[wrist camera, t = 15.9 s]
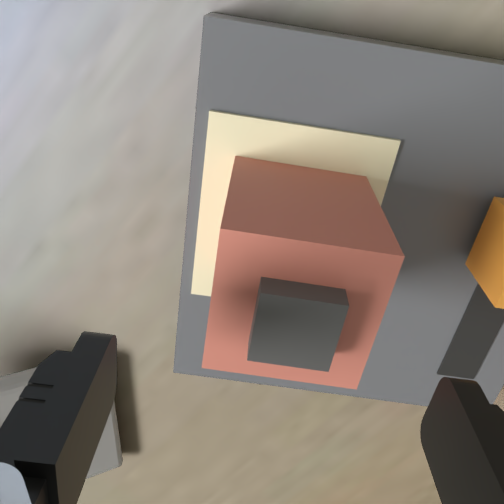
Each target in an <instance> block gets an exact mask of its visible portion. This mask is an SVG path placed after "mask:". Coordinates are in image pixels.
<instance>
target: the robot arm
mask: <svg viewBox="0 0 504 504" xmlns="http://www.w3.org/2000/svg"><path fill="white" fill-rule="evenodd" d="M116 386H117V339H116V336H115V335H110V334H102V333H94V332H86V331H85V332H83V333H82V334H81V336H80V337H79V339H78V341H77V343H76V345H75V347H74V349H73V350H72V352H67V351H59V350H57V351H55V352H54V353H53V354H51V355H50V356H49V357H48V358H46V359H45V360H44V361H43V362H41V363H40V364H39V365H38V366H37V368H36V370H35V371H34V373H33V375H32V376H31V378H30V380H29V381H28V385H27V386H25V388H24V390H23V391H22V393H21V394H20V396H19V400H18V401H16V403H15V404H14V406H13V408H12V409H11V411H10V413H9V414H8V416H7V418H6V419H5V421H4V422H3V424H2V426H1V427H0V504H77V501H78V498H79V496H80V493H81V490H82V487H83V485H84V482H85V479H86V477H87V474H88V471H89V469H90V466H91V463H92V460H93V458H94V455H95V452H96V450H97V447H98V444H99V441H100V439H101V436H102V433H103V431H104V428H105V425H106V422H107V420H108V417H109V414H110V412H111V409H112V406H113V402H114V398H115V393H116ZM421 443H422V446H423V450H424V452H425V455H426V458H427V461H428V464H429V467H430V470H431V473H432V476H433V479H434V482H435V485H436V488H437V491H438V494H439V497H440V499H441V502H442V504H504V411H503V410H502V409H501V408H500V407H499V406H498V405H494V404H490V403H489V401H488V399H487V398H486V396H485V394H484V392H483V390H482V388H481V386H480V385H479V384H478V382H476V381H474V380H466V379H458V378H450V377H443V378H442V379H441V380H440V381H439V383H438V385H437V387H436V389H435V392H434V394H433V396H432V399H431V401H430V403H429V405H428V408H427V410H426V412H425V414H424V417H423V419H422V423H421Z"/></svg>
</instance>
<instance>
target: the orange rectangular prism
mask: <svg viewBox="0 0 504 504" xmlns="http://www.w3.org/2000/svg"><path fill="white" fill-rule="evenodd" d="M465 264H466V266H467V267H468V269H469V270H470V272H471V273H472V275H473V276H474V278H475V279H476V281H477V282H478V284H479V285H480V286H481V288H482V289H483V291H484V292H485V294H486V295H487V297H488V298H489V300H490V301H491V303H492V304H493V306H494V307H495V308H502V309H504V198H500V197H494V198H493V200H492V202H491V205H490V207H489V209H488V212H487V214H486V216H485V219H484V221H483V223H482V226H481V228H480V230H479V233H478V235H477V237H476V239H475V242H474V244H473V246H472V249H471V251H470V253H469V256H468V258H467V260H466V263H465Z"/></svg>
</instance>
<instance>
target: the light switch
mask: <svg viewBox="0 0 504 504" xmlns="http://www.w3.org/2000/svg"><path fill="white" fill-rule="evenodd" d="M36 368H37V367H36ZM36 368H32V369H28V370H24V371H20V372H17V373H13V374H9V375H5V376H2V377H0V427H1V426H2V424H3V422H4V421H5V419H6V418H7V416H8V414H9V413H10V411H11V409H12V408H13V406H14V404H15V403H16V401H18V400H19V396H20V394H21V393H22V391H23V390H24V388H25V386H27V385H28V381H29V380H30V378H31V376H32V375H33V373H34V371H35V370H36ZM122 461H123V458H122V451H121V444H120V437H119V430H118V423H117V416H116V409H115V401H114V402H113V406H112V409H111V412H110V414H109V417H108V420H107V422H106V425H105V428H104V431H103V433H102V436H101V439H100V441H99V444H98V447H97V450H96V452H95V455H94V458H93V460H92V463H91V466H90V469H89V471H88V474H87V477H86V479H87V478H90V477H92V476H95V475H98V474H101V473H103V472H106V471H109V470H111V469H114V468H117V467H119V466H121V465H122Z"/></svg>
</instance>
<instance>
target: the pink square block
mask: <svg viewBox="0 0 504 504" xmlns="http://www.w3.org/2000/svg"><path fill="white" fill-rule="evenodd" d="M404 257H405V256H404V254H403V252H402V250H401V248H400V245H399V243H398V241H397V239H396V237H395V235H394V233H393V231H392V229H391V227H390V225H389V223H388V220H387V218H386V216H385V214H384V212H383V210H382V208H381V206H380V204H379V202H378V200H377V198H376V195H375V193H374V191H373V189H372V187H371V185H370V183H369V181H368V179H367V177H366V176H360V175H354V174H348V173H341V172H335V171H329V170H322V169H316V168H310V167H304V166H297V165H291V164H285V163H278V162H272V161H266V160H260V159H253V158H247V157H241V156H235V159H234V164H233V169H232V174H231V179H230V183H229V188H228V193H227V198H226V203H225V207H224V212H223V217H222V222H221V227H220V233H219V241H218V248H217V256H216V263H215V271H214V278H213V286H212V293H211V301H210V308H209V316H208V323H207V331H206V338H205V346H204V353H203V360H202V368H205V369H212V370H220V371H227V372H234V373H241V374H248V375H256V376H263V377H270V378H277V379H284V380H292V381H299V382H306V383H313V384H320V385H328V386H335V387H342V388H349V389H356V390H357V387H358V384H359V381H360V379H361V376H362V373H363V370H364V368H365V365H366V362H367V359H368V357H369V354H370V351H371V348H372V346H373V343H374V340H375V337H376V335H377V332H378V329H379V326H380V324H381V321H382V318H383V315H384V312H385V310H386V307H387V304H388V301H389V299H390V296H391V293H392V290H393V288H394V285H395V282H396V279H397V277H398V274H399V271H400V268H401V266H402V263H403V260H404Z"/></svg>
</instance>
